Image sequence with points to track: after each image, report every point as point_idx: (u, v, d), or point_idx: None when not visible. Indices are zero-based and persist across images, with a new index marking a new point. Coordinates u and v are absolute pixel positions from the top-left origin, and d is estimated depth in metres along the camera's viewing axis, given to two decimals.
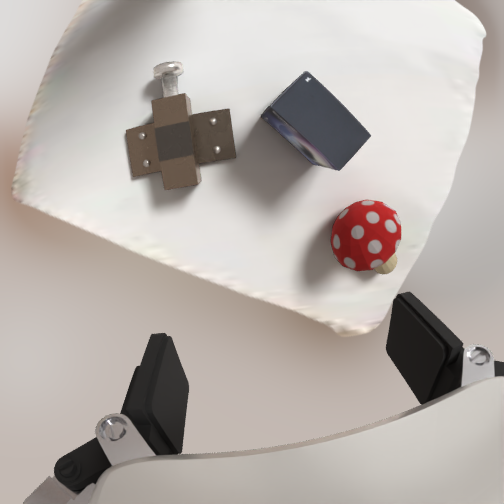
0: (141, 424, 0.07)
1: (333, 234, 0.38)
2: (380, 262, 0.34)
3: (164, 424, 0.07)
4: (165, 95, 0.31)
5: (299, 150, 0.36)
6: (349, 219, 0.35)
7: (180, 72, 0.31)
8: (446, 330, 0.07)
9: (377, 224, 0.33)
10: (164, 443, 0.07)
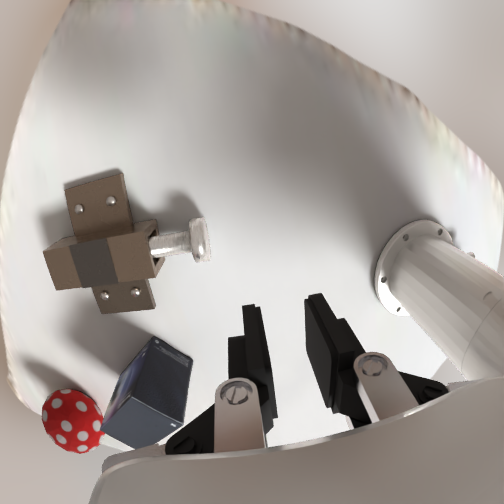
0: (256, 386, 0.08)
1: (62, 398, 0.30)
2: None
3: (273, 385, 0.08)
4: (157, 243, 0.25)
5: (123, 374, 0.31)
6: (74, 417, 0.29)
7: None
8: (341, 334, 0.09)
9: (78, 440, 0.28)
10: (270, 406, 0.08)
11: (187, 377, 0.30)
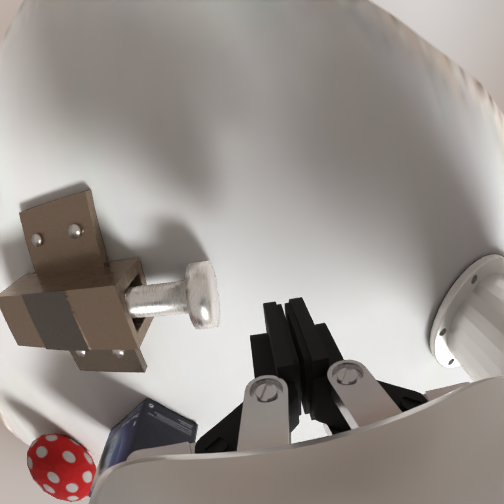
0: None
1: (47, 446, 0.22)
2: None
3: None
4: (139, 299, 0.16)
5: (113, 434, 0.22)
6: (61, 469, 0.20)
7: None
8: (317, 341, 0.09)
9: (67, 492, 0.19)
10: None
11: None
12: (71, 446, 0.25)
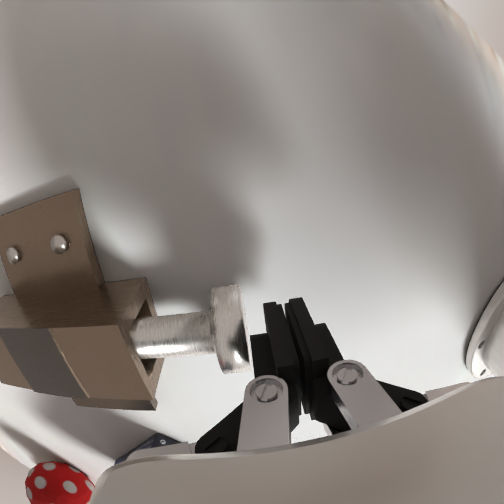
0: None
1: (46, 477, 0.17)
2: None
3: None
4: (145, 338, 0.11)
5: None
6: (63, 500, 0.16)
7: None
8: (317, 341, 0.09)
9: None
10: None
11: None
12: (71, 475, 0.20)
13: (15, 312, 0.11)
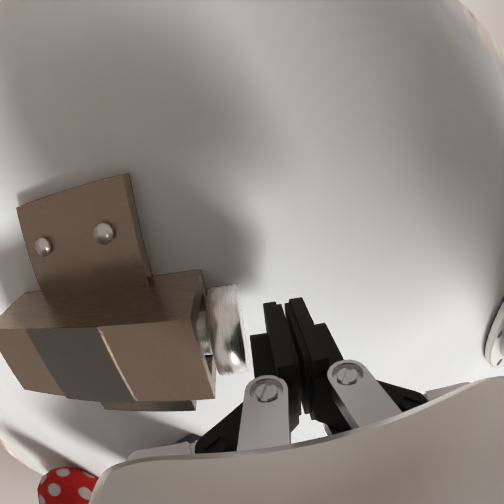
0: None
1: (60, 483, 0.17)
2: None
3: None
4: None
5: None
6: None
7: None
8: (317, 341, 0.09)
9: None
10: None
11: None
12: (86, 480, 0.20)
13: (46, 310, 0.11)
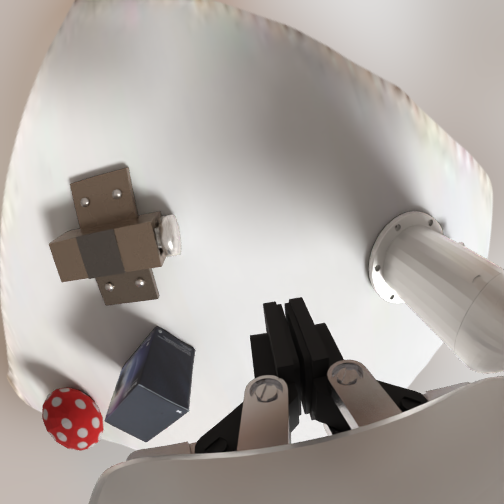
0: None
1: (62, 396, 0.31)
2: (54, 439, 0.27)
3: None
4: None
5: (126, 365, 0.32)
6: (74, 414, 0.30)
7: None
8: (317, 341, 0.09)
9: (78, 437, 0.29)
10: None
11: (190, 365, 0.31)
12: (82, 396, 0.34)
13: (85, 231, 0.25)
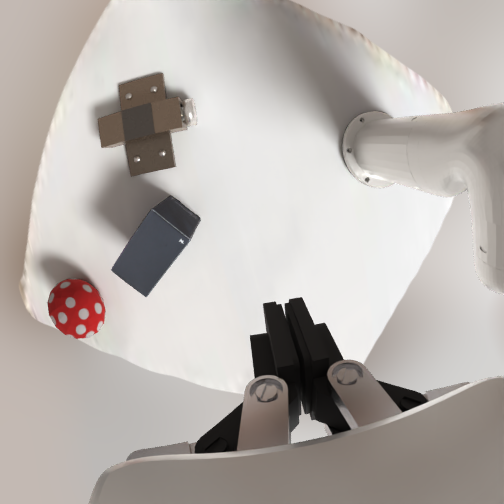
0: None
1: (71, 281, 0.40)
2: (54, 323, 0.36)
3: None
4: None
5: None
6: (79, 294, 0.39)
7: None
8: (317, 341, 0.09)
9: (78, 318, 0.37)
10: None
11: (195, 222, 0.39)
12: (90, 284, 0.43)
13: None
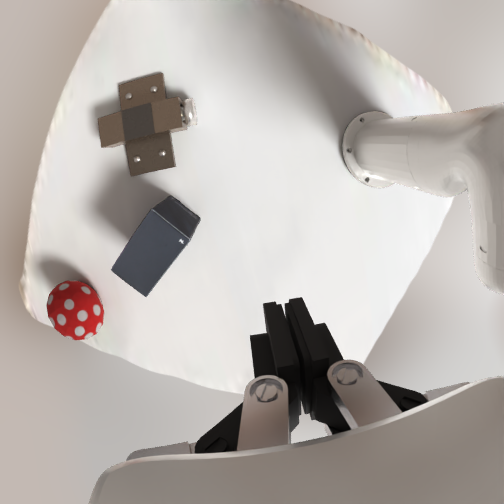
0: None
1: (69, 283, 0.40)
2: (53, 325, 0.36)
3: None
4: None
5: None
6: (78, 296, 0.39)
7: None
8: (317, 341, 0.09)
9: (77, 320, 0.37)
10: None
11: (195, 222, 0.39)
12: (88, 286, 0.43)
13: None
